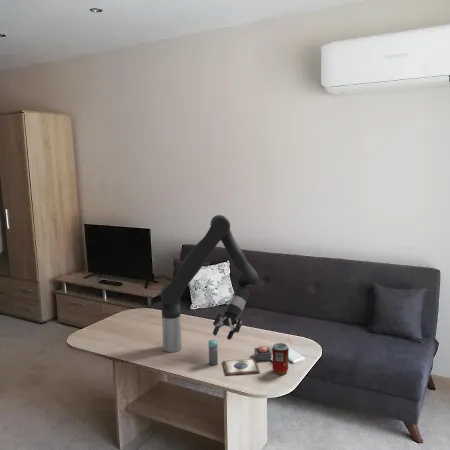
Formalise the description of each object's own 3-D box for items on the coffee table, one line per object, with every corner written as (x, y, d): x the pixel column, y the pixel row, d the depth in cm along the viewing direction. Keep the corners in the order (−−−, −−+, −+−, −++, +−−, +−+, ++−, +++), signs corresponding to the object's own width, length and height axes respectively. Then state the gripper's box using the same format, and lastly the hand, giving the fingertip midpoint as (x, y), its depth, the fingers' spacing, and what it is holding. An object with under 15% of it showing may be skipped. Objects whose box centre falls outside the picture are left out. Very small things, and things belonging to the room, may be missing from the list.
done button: (259, 354, 211) (259, 349, 211) (257, 350, 215) (257, 346, 215) (268, 354, 211) (268, 349, 211) (266, 350, 216) (266, 345, 215)
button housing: (257, 361, 210) (256, 354, 209) (254, 354, 217) (254, 348, 216) (271, 360, 211) (271, 353, 210) (268, 353, 218) (268, 347, 217)
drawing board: (226, 375, 196) (226, 373, 196) (222, 362, 209) (222, 360, 209) (259, 373, 198) (259, 371, 198) (254, 360, 211) (254, 358, 211)
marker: (209, 366, 206) (208, 343, 204) (208, 362, 210) (208, 339, 208) (218, 365, 206) (217, 342, 205) (217, 361, 210) (216, 339, 209)
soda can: (289, 375, 196) (289, 348, 194) (272, 375, 196) (272, 348, 194) (287, 367, 203) (287, 342, 201) (272, 367, 203) (272, 342, 201)
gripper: (220, 300, 220) (206, 330, 213) (244, 306, 212) (229, 336, 204) (227, 308, 225) (213, 337, 218) (250, 313, 217) (236, 344, 209)
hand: (221, 336), depth 211 cm, fingers open, 8 cm apart
